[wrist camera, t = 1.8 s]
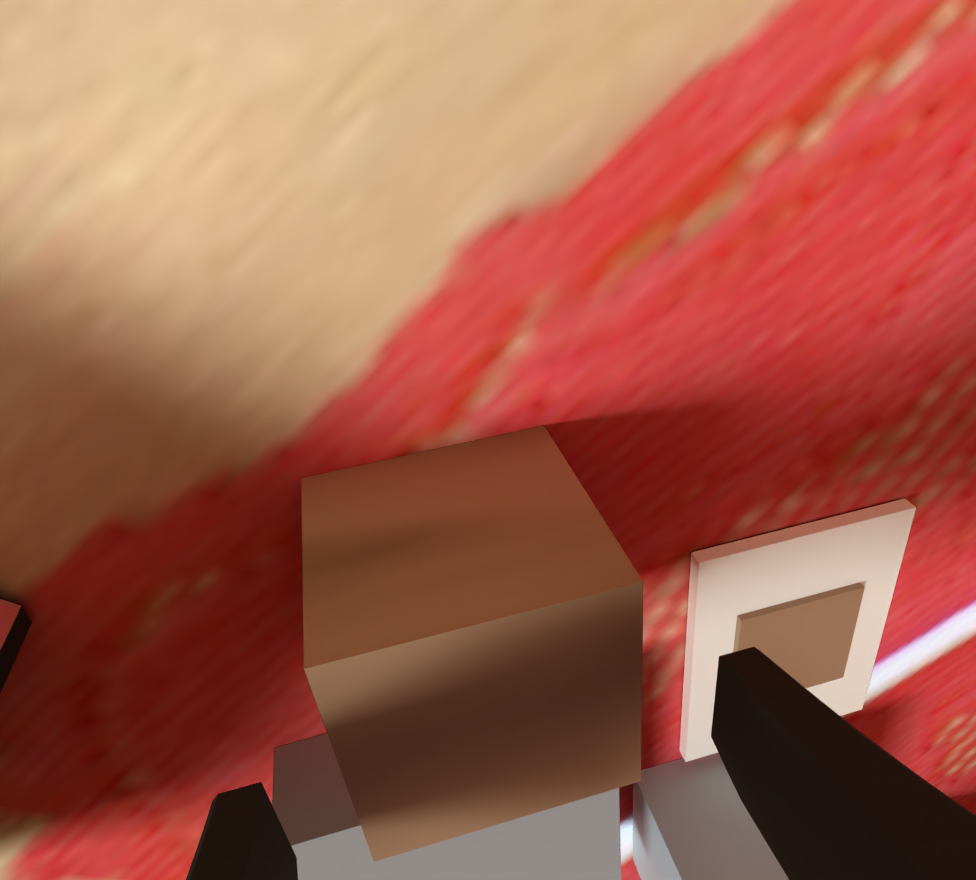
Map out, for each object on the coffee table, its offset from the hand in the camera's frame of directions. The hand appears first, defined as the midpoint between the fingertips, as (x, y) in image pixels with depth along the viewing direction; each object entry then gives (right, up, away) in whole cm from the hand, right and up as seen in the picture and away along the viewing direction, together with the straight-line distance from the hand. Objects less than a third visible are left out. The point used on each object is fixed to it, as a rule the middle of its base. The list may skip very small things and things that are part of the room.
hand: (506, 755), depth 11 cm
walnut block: (-1, +3, +5) cm, 6 cm away
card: (+8, -1, +9) cm, 12 cm away
